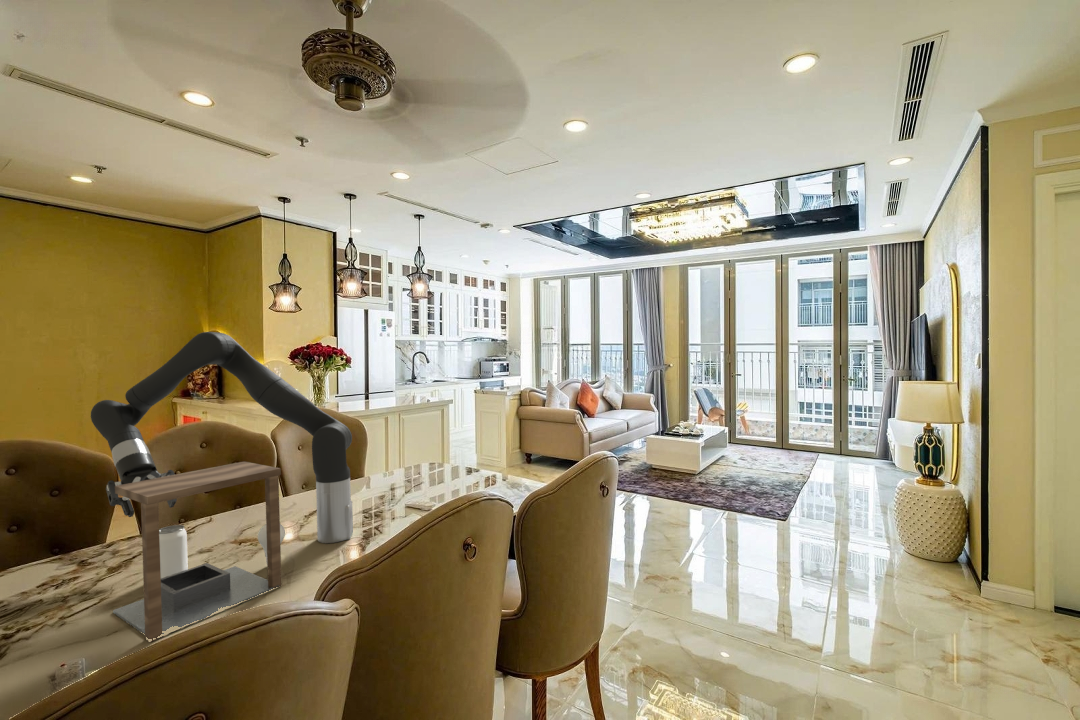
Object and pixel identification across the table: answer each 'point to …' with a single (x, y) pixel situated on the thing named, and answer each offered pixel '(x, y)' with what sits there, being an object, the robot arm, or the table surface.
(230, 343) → the robot arm
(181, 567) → the can
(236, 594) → the socket
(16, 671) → the table surface
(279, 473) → the wooden arch stand
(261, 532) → the lightbulb
